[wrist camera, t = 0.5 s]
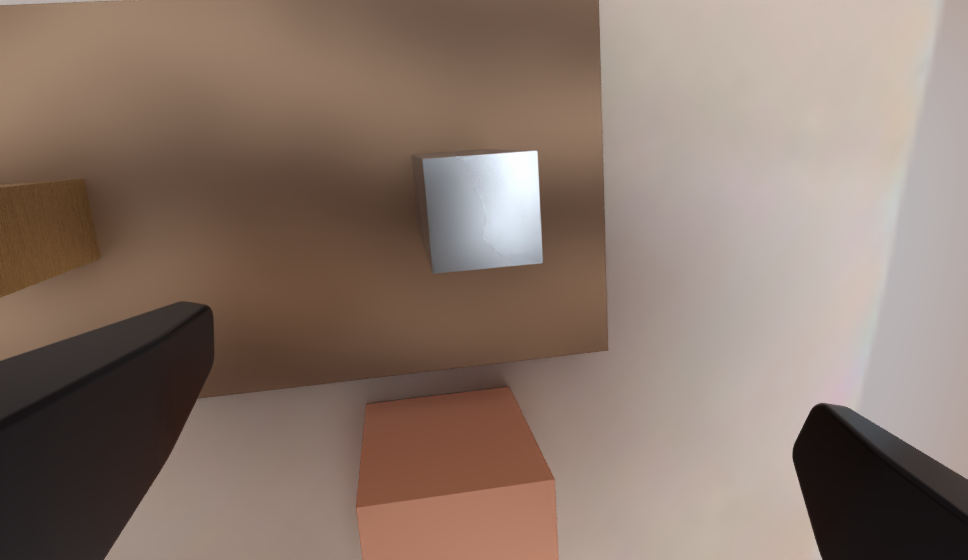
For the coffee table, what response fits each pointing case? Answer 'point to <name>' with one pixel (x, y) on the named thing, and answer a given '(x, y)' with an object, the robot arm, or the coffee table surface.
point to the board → (307, 176)
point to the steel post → (478, 208)
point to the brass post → (44, 232)
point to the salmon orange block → (454, 481)
